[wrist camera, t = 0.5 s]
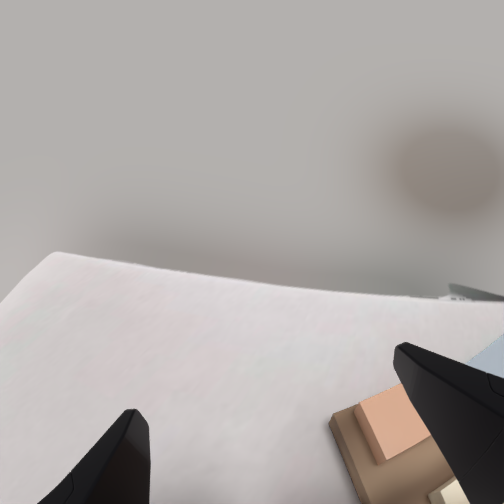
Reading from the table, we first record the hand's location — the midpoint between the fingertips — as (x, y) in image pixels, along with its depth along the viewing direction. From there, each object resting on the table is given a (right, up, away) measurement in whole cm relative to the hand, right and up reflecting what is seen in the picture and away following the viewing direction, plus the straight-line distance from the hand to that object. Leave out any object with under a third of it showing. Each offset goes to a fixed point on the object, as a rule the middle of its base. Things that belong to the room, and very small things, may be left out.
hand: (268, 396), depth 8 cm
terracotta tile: (+10, -8, +8) cm, 15 cm away
